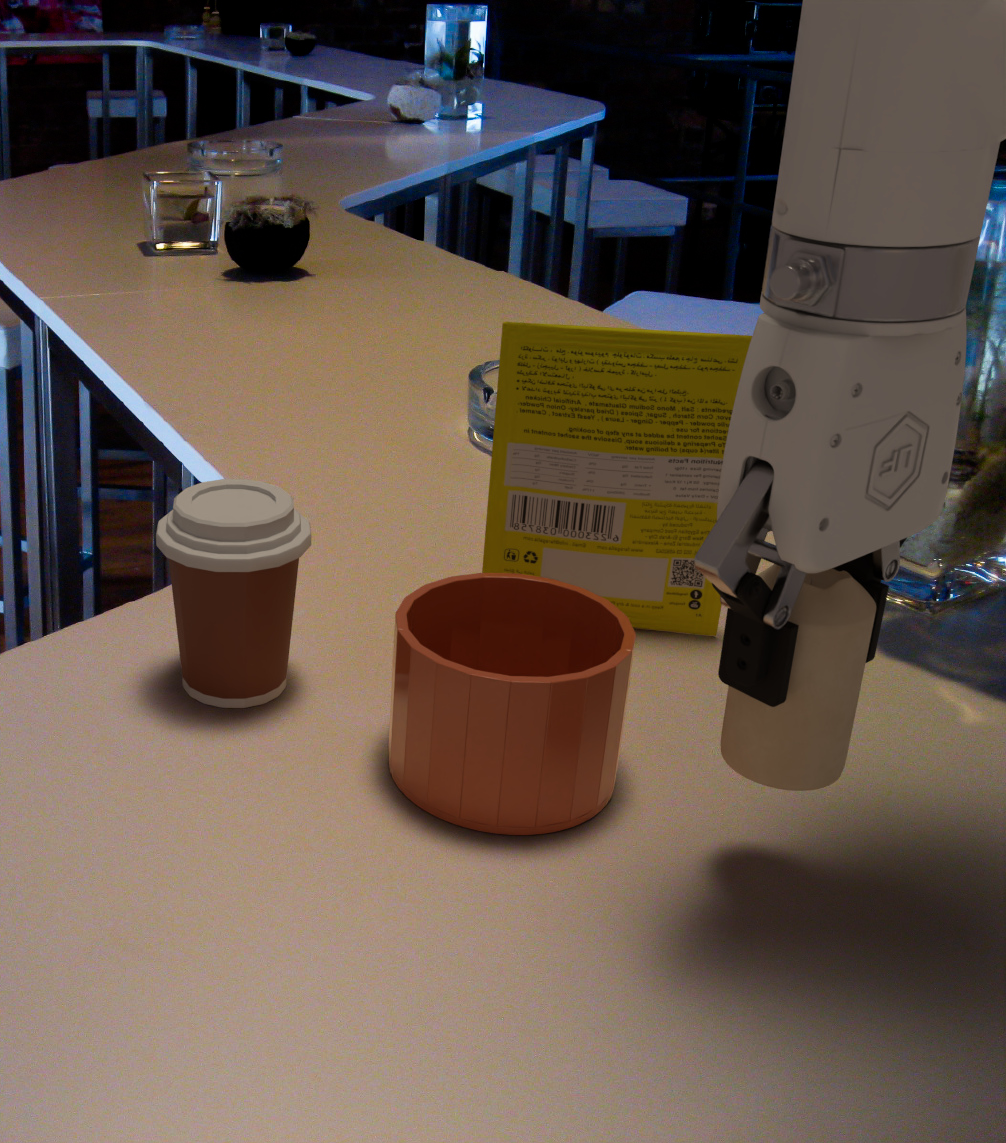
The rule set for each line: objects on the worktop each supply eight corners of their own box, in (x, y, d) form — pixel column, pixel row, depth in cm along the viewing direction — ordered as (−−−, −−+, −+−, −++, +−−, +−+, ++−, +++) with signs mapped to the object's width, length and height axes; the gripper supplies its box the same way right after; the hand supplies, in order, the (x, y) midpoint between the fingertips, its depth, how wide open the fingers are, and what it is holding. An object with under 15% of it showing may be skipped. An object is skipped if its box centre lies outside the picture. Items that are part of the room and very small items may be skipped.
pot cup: (504, 689, 81) (517, 554, 77) (662, 785, 72) (686, 638, 68) (344, 750, 75) (349, 608, 71) (494, 864, 66) (509, 707, 62)
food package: (715, 632, 88) (766, 334, 79) (716, 640, 87) (768, 339, 78) (479, 609, 91) (503, 319, 82) (478, 616, 90) (502, 324, 81)
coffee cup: (295, 728, 77) (298, 538, 72) (142, 711, 79) (135, 524, 74) (319, 653, 85) (323, 477, 80) (180, 639, 87) (176, 466, 82)
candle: (863, 756, 63) (903, 565, 59) (812, 807, 59) (850, 608, 55) (751, 714, 66) (781, 531, 62) (697, 761, 63) (724, 569, 59)
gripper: (811, 333, 46) (741, 772, 54) (1076, 260, 54) (982, 650, 62) (642, 292, 52) (601, 694, 60) (905, 232, 60) (839, 592, 68)
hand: (796, 668), depth 61 cm, fingers closed on candle, 5 cm apart
